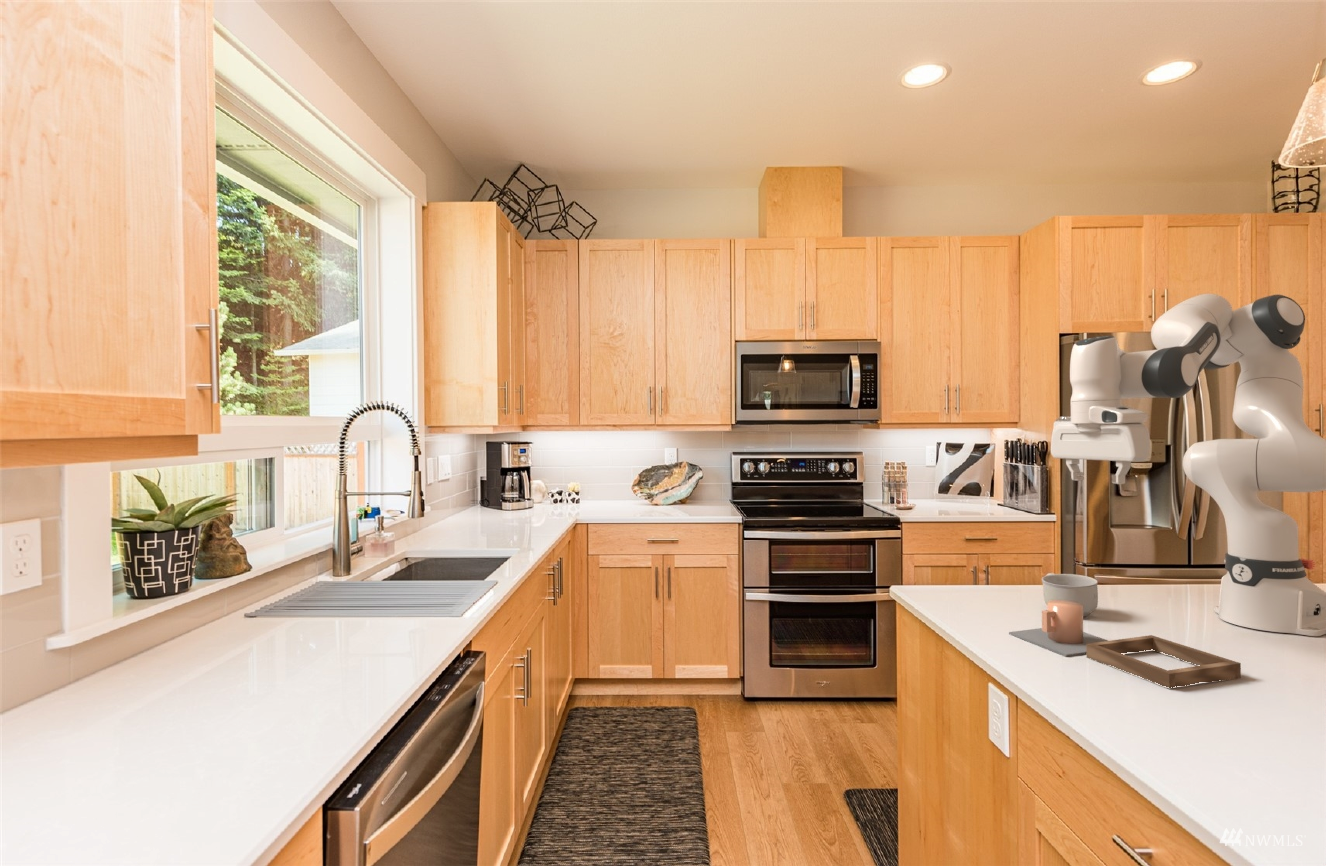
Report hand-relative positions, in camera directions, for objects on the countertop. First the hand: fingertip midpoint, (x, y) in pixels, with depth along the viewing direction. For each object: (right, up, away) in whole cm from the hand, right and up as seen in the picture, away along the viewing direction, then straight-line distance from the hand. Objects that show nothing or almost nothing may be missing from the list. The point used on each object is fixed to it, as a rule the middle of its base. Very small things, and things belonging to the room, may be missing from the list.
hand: (1097, 482), depth 133 cm
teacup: (+3, -31, +15) cm, 35 cm away
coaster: (-9, -31, -4) cm, 33 cm away
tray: (-2, -31, -19) cm, 37 cm away
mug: (-9, -31, -4) cm, 33 cm away
